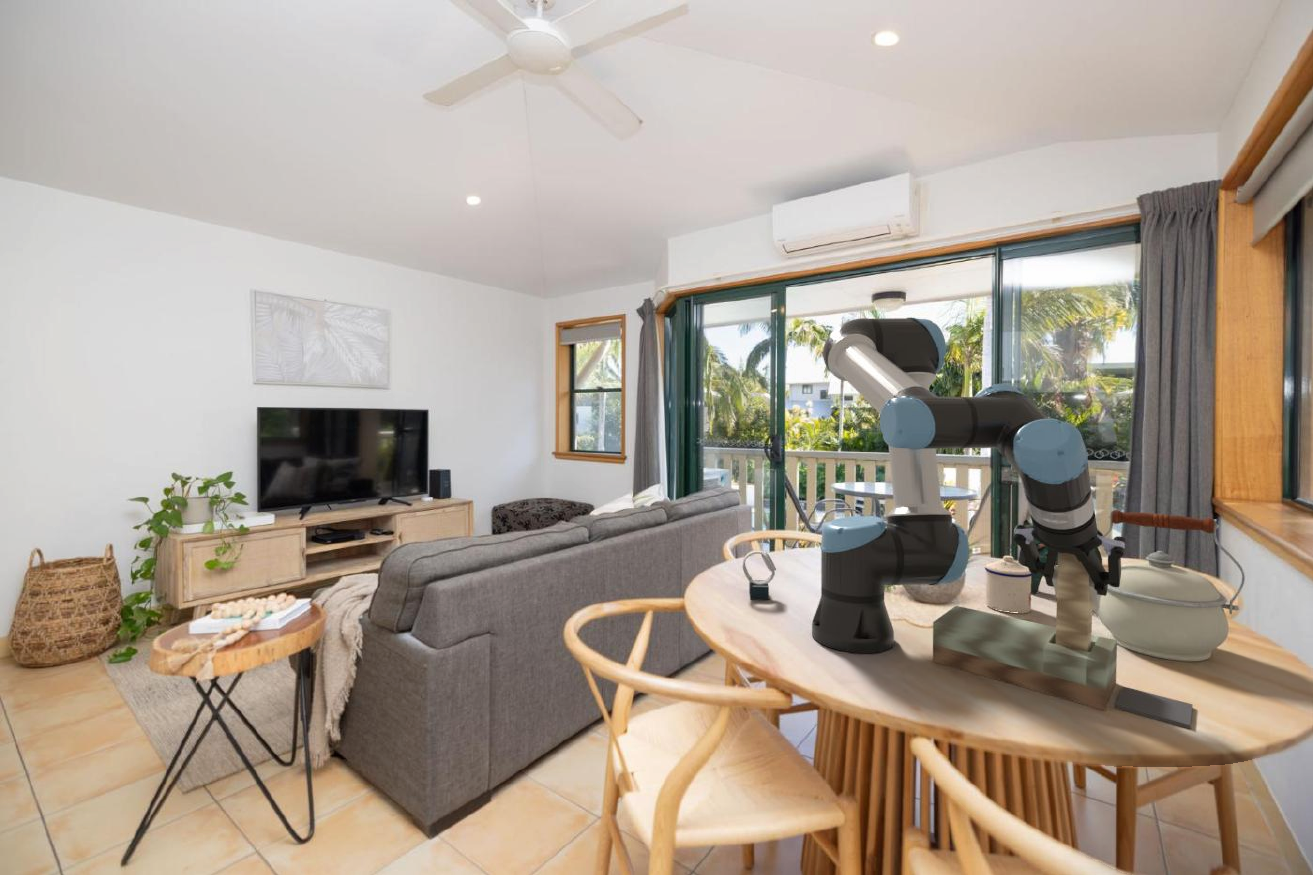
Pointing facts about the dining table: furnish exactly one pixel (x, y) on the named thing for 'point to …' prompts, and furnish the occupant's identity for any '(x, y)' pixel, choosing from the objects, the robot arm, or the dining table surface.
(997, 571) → the teacup with lid
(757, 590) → the watch
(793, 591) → the dining table surface
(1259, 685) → the dining table surface
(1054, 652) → the green block with hole
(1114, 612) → the kettle
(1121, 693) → the rubber mat
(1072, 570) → the wooden block
